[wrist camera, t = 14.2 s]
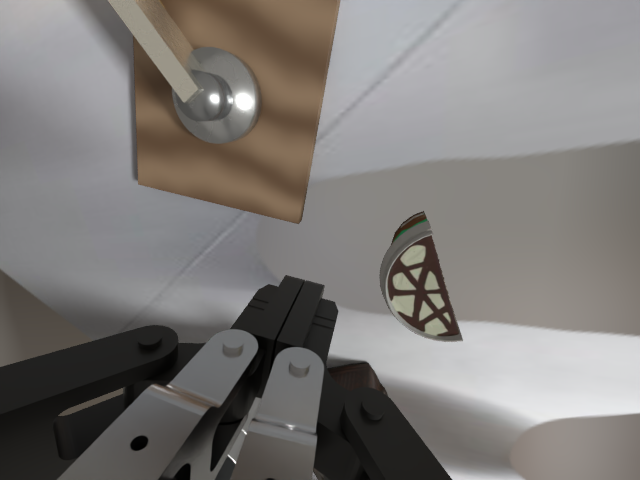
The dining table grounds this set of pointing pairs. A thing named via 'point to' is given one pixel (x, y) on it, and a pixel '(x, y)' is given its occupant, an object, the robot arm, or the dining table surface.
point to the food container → (418, 283)
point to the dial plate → (276, 112)
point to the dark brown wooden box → (354, 383)
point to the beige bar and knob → (196, 75)
